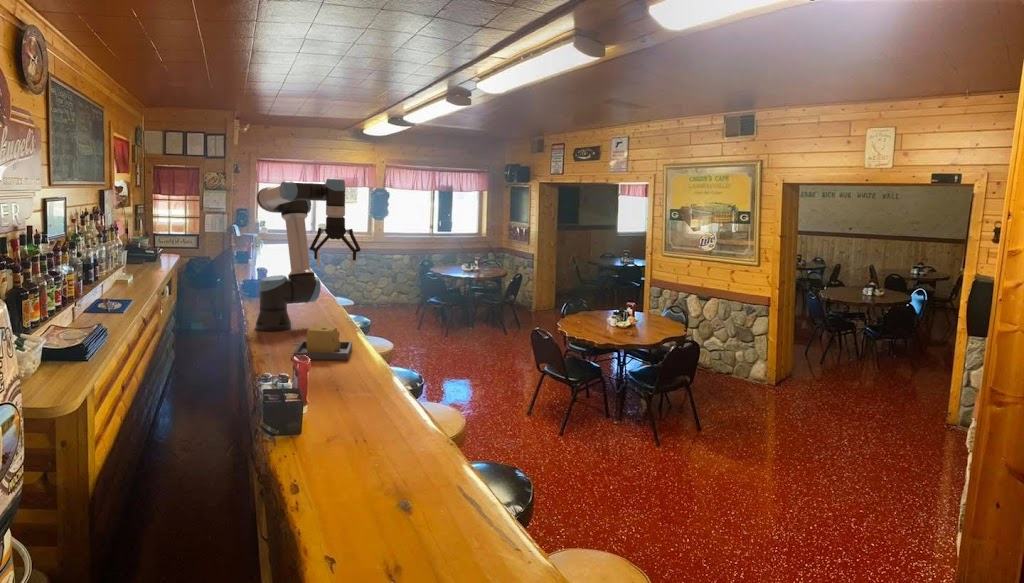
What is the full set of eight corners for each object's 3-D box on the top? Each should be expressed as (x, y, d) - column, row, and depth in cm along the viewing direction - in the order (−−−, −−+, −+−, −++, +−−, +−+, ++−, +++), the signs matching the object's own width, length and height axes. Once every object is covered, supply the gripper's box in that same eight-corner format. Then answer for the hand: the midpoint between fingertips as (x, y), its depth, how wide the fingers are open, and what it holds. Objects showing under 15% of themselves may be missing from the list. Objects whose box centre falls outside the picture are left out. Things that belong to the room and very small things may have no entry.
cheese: (340, 349, 259) (340, 325, 257) (331, 356, 248) (332, 331, 247) (314, 348, 259) (314, 323, 258) (305, 355, 249) (305, 329, 247)
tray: (301, 348, 261) (301, 341, 261) (352, 348, 264) (352, 341, 264) (293, 360, 244) (293, 352, 243) (347, 360, 247) (347, 353, 246)
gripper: (302, 215, 259) (302, 268, 263) (365, 218, 263) (365, 269, 267) (305, 214, 267) (305, 265, 270) (367, 217, 271) (366, 267, 274)
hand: (335, 267), depth 268 cm, fingers open, 13 cm apart
